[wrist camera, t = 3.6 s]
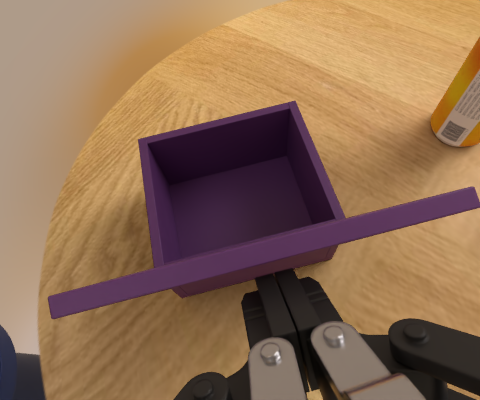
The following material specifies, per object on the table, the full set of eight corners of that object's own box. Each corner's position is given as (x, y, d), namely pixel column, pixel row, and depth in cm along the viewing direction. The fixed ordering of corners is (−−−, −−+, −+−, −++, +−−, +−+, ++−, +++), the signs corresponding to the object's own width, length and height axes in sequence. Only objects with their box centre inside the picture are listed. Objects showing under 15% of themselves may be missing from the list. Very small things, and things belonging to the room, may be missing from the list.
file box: (163, 184, 41) (137, 138, 33) (291, 152, 41) (295, 100, 33) (181, 298, 34) (154, 275, 26) (331, 259, 35) (348, 224, 27)
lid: (46, 296, 12) (50, 320, 12) (474, 185, 12) (482, 207, 12) (151, 268, 26) (154, 278, 26) (348, 217, 27) (351, 227, 27)
